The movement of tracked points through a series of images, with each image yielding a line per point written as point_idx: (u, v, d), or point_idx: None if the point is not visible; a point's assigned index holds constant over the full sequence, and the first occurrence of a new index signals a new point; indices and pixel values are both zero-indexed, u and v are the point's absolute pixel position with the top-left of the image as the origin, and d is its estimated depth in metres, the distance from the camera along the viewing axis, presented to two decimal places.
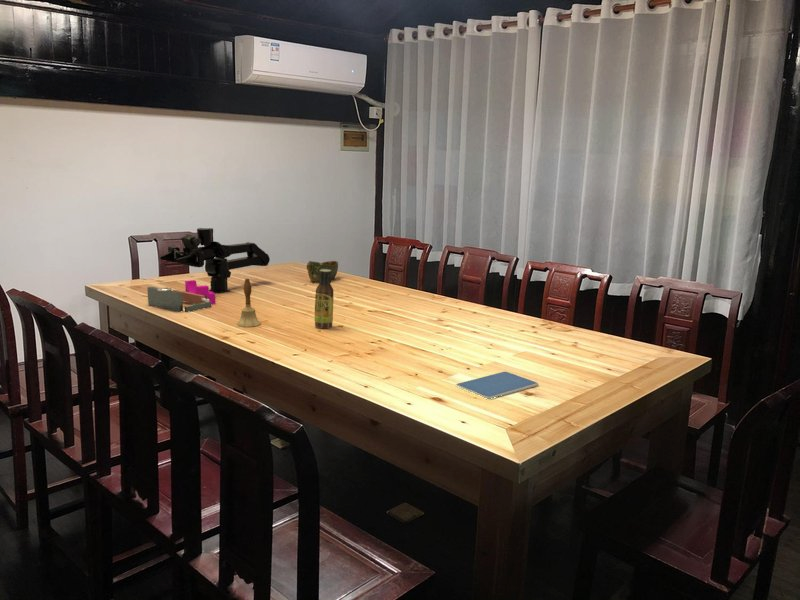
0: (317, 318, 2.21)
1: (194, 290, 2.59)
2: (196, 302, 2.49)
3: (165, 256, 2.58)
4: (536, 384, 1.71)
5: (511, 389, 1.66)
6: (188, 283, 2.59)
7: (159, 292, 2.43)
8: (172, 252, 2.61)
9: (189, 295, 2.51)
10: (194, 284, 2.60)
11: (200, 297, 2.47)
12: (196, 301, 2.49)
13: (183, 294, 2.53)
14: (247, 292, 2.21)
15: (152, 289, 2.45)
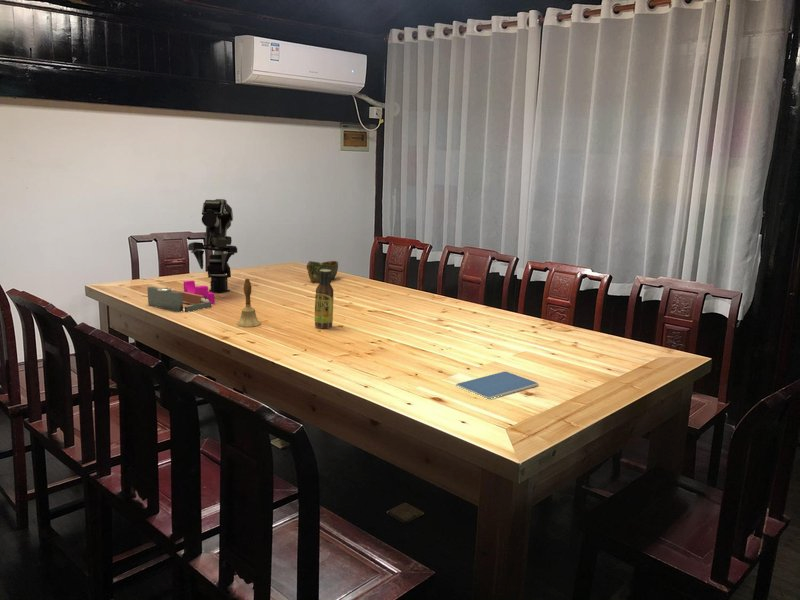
0: (317, 318, 2.21)
1: (193, 290, 2.59)
2: (195, 302, 2.49)
3: None
4: (536, 384, 1.71)
5: (511, 389, 1.66)
6: (187, 283, 2.58)
7: (159, 292, 2.43)
8: None
9: (188, 295, 2.50)
10: (193, 284, 2.60)
11: (199, 297, 2.47)
12: (195, 301, 2.48)
13: (182, 294, 2.52)
14: (247, 292, 2.21)
15: (152, 289, 2.45)
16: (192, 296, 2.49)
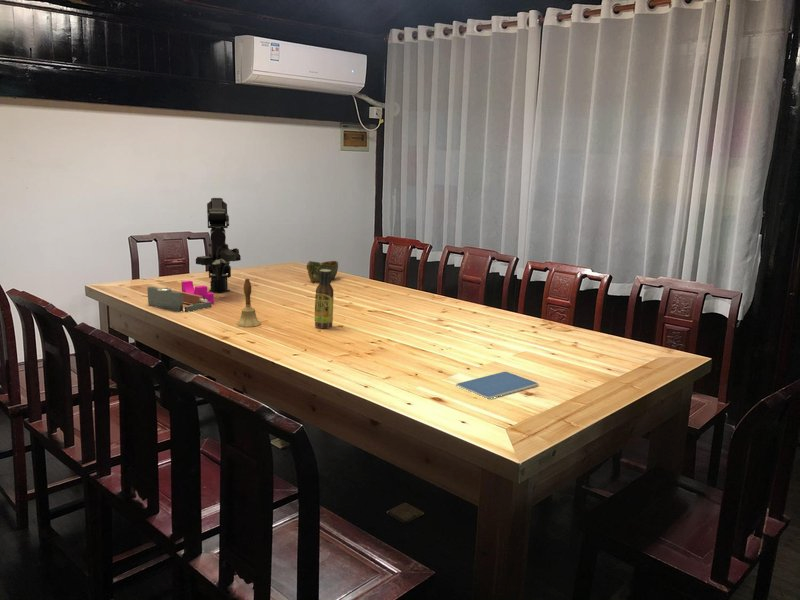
0: (317, 318, 2.21)
1: (191, 291, 2.58)
2: (194, 302, 2.48)
3: None
4: (536, 384, 1.71)
5: (511, 389, 1.66)
6: (185, 284, 2.57)
7: (159, 292, 2.43)
8: None
9: (187, 295, 2.50)
10: (191, 285, 2.59)
11: (198, 297, 2.46)
12: (194, 301, 2.48)
13: None
14: (247, 292, 2.21)
15: (152, 289, 2.45)
16: (191, 296, 2.49)
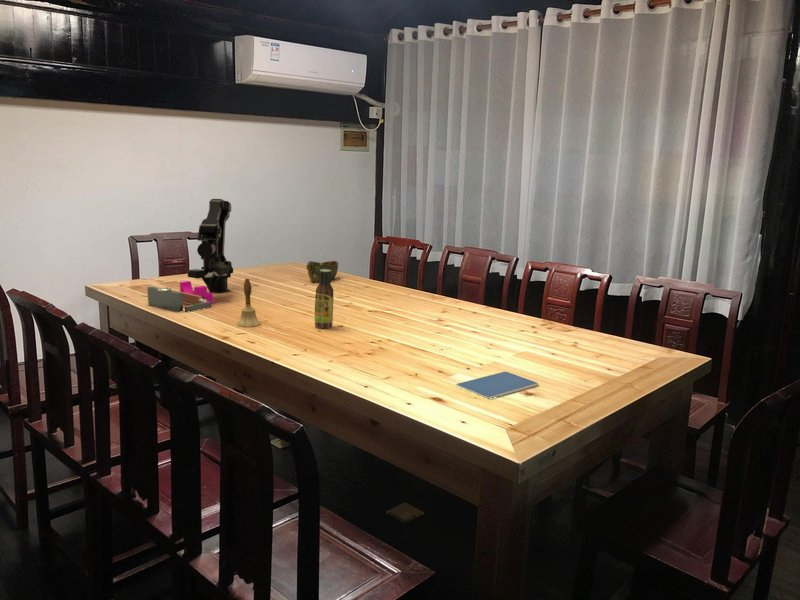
0: (317, 318, 2.21)
1: (190, 291, 2.57)
2: (193, 303, 2.48)
3: None
4: (536, 384, 1.71)
5: (511, 389, 1.66)
6: (183, 284, 2.57)
7: (159, 292, 2.43)
8: None
9: (186, 296, 2.50)
10: (189, 285, 2.58)
11: (197, 298, 2.46)
12: (193, 301, 2.48)
13: None
14: (247, 292, 2.21)
15: (152, 289, 2.45)
16: (190, 296, 2.48)
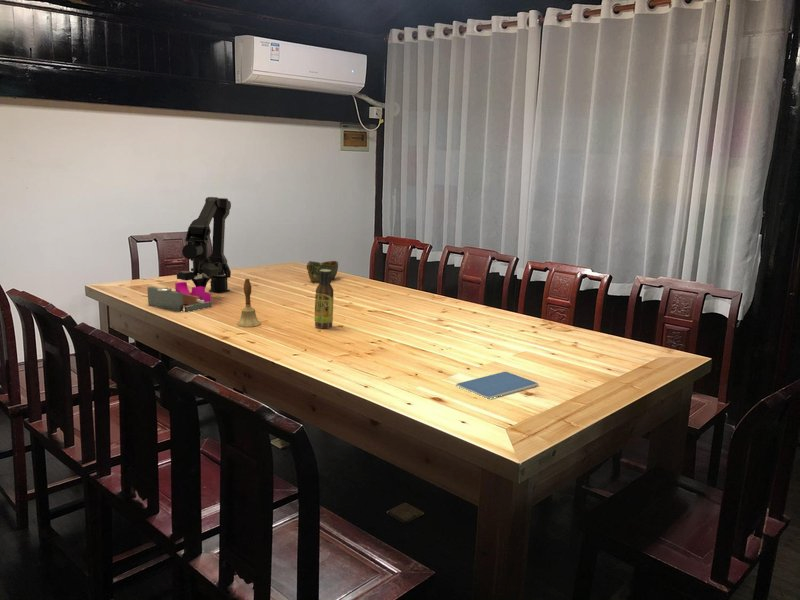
0: (317, 318, 2.21)
1: (185, 291, 2.56)
2: (191, 303, 2.47)
3: None
4: (536, 384, 1.71)
5: (511, 389, 1.66)
6: (179, 285, 2.55)
7: (159, 292, 2.43)
8: None
9: (184, 296, 2.49)
10: (185, 285, 2.57)
11: (195, 298, 2.45)
12: (191, 302, 2.47)
13: None
14: (247, 292, 2.21)
15: (152, 289, 2.45)
16: (188, 297, 2.47)
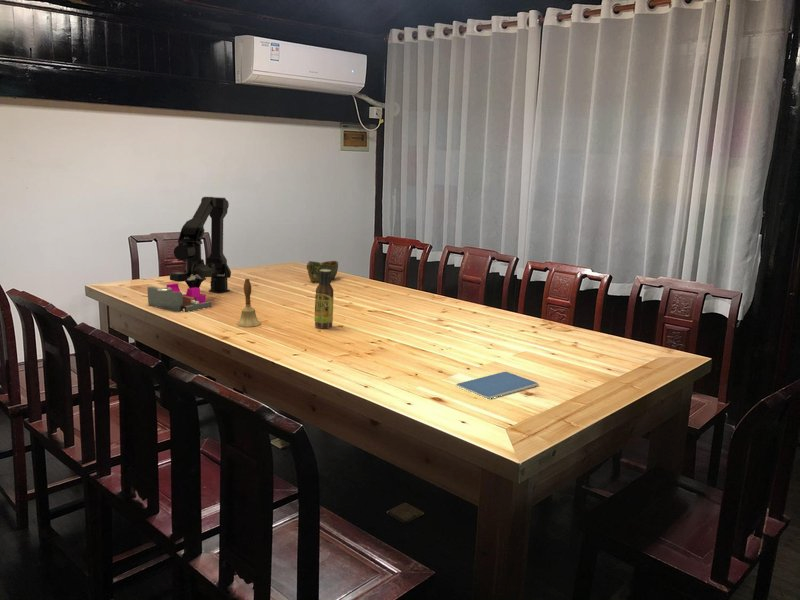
0: (317, 318, 2.21)
1: None
2: (185, 304, 2.45)
3: None
4: (536, 384, 1.71)
5: (511, 389, 1.66)
6: (171, 286, 2.52)
7: (159, 292, 2.43)
8: None
9: None
10: (176, 287, 2.53)
11: (189, 299, 2.43)
12: (186, 303, 2.45)
13: None
14: (247, 292, 2.21)
15: (152, 289, 2.45)
16: None
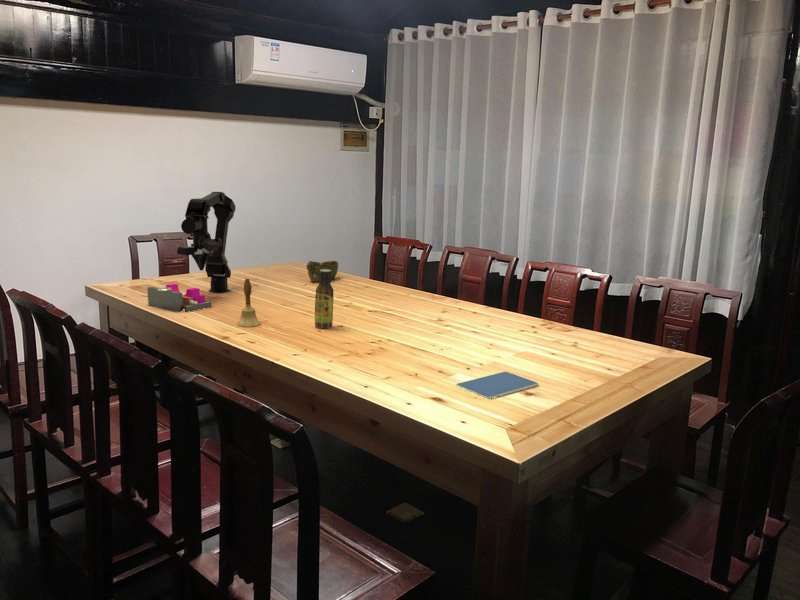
0: (317, 318, 2.21)
1: None
2: (184, 304, 2.44)
3: None
4: (536, 384, 1.70)
5: (511, 389, 1.66)
6: (170, 287, 2.51)
7: (159, 292, 2.43)
8: None
9: None
10: (176, 287, 2.53)
11: (188, 299, 2.43)
12: (184, 303, 2.44)
13: None
14: (247, 292, 2.21)
15: (152, 289, 2.45)
16: None
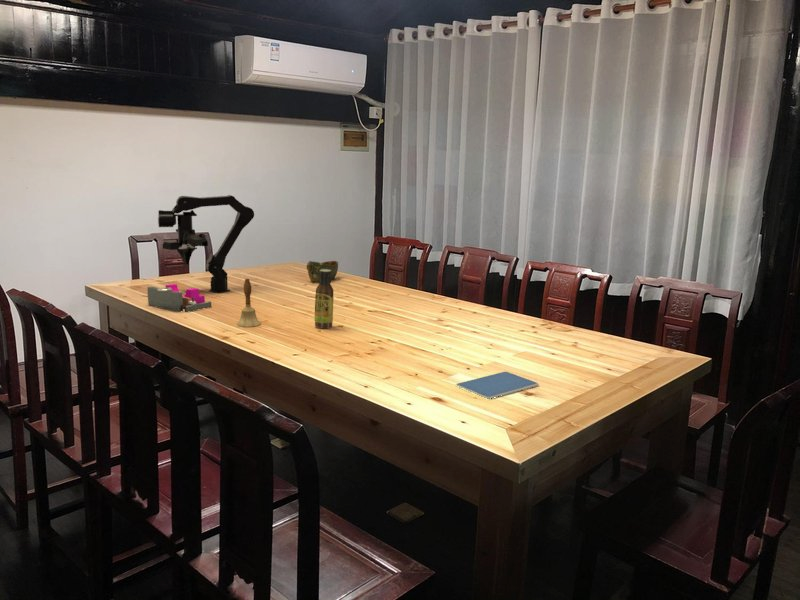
0: (317, 318, 2.21)
1: None
2: (183, 305, 2.44)
3: None
4: (536, 384, 1.70)
5: (511, 389, 1.66)
6: (170, 287, 2.50)
7: (159, 292, 2.43)
8: None
9: None
10: (175, 288, 2.52)
11: (187, 300, 2.42)
12: (183, 303, 2.44)
13: None
14: (247, 292, 2.21)
15: (152, 289, 2.45)
16: None
